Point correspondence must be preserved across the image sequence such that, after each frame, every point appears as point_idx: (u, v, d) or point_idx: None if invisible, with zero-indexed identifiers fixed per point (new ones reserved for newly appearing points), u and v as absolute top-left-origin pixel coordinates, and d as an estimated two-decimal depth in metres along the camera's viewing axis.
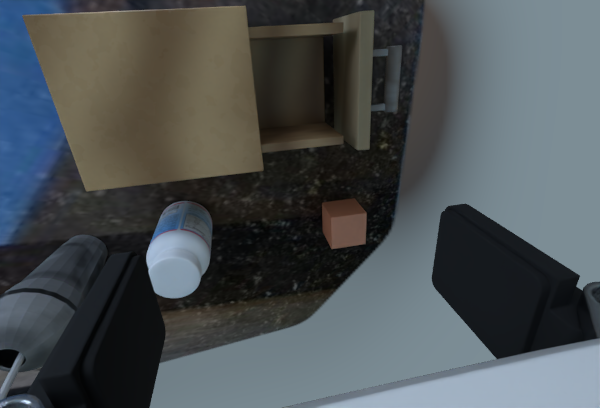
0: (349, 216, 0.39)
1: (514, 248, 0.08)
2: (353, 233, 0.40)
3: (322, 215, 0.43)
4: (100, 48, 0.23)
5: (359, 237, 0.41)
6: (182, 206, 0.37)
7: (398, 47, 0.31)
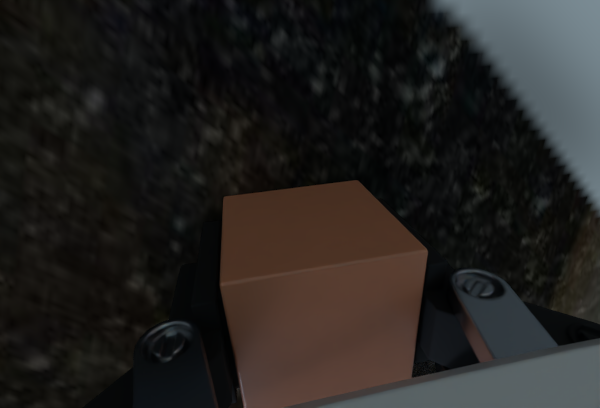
0: (244, 359, 0.07)
1: None
2: (345, 323, 0.07)
3: None
4: None
5: (379, 291, 0.07)
6: None
7: None
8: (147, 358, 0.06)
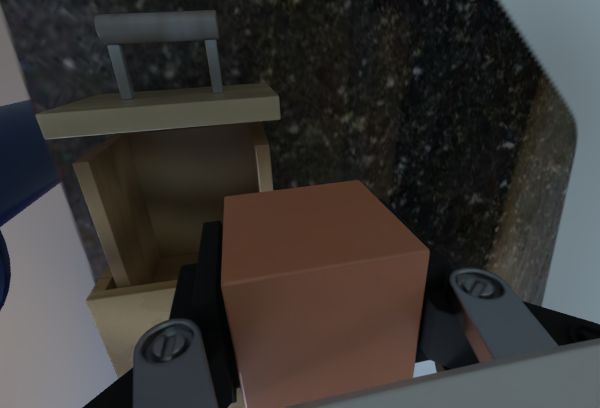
0: (245, 360, 0.07)
1: None
2: (347, 323, 0.07)
3: None
4: None
5: (381, 292, 0.07)
6: None
7: (97, 27, 0.17)
8: (147, 358, 0.06)
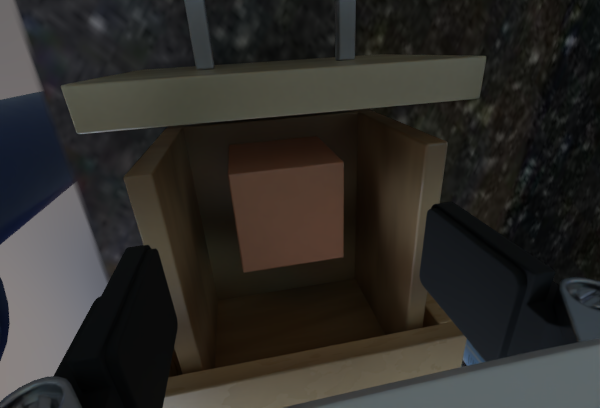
0: (241, 225, 0.13)
1: (494, 244, 0.08)
2: (299, 206, 0.13)
3: None
4: None
5: (317, 186, 0.13)
6: None
7: None
8: None
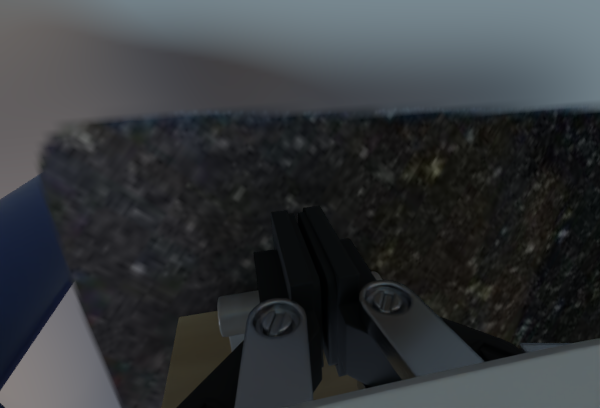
0: None
1: (324, 248, 0.08)
2: None
3: None
4: None
5: None
6: None
7: (223, 328, 0.11)
8: None
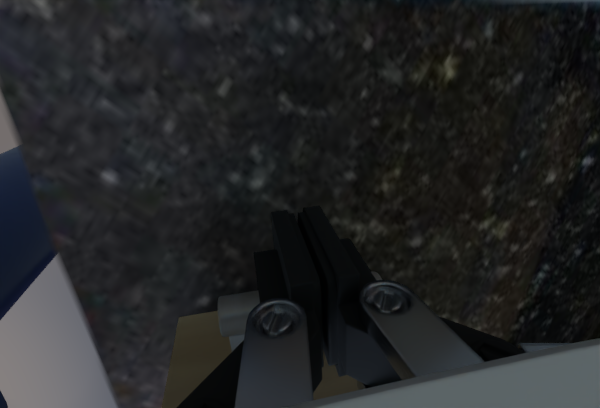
0: None
1: (324, 248, 0.08)
2: None
3: None
4: None
5: None
6: None
7: (223, 328, 0.11)
8: None
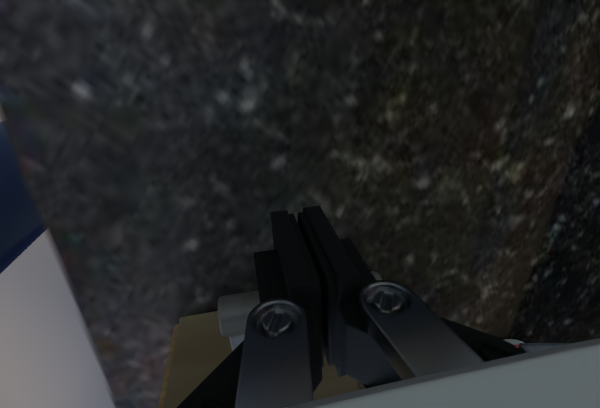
0: None
1: (324, 248, 0.08)
2: None
3: None
4: None
5: None
6: None
7: (224, 328, 0.11)
8: None
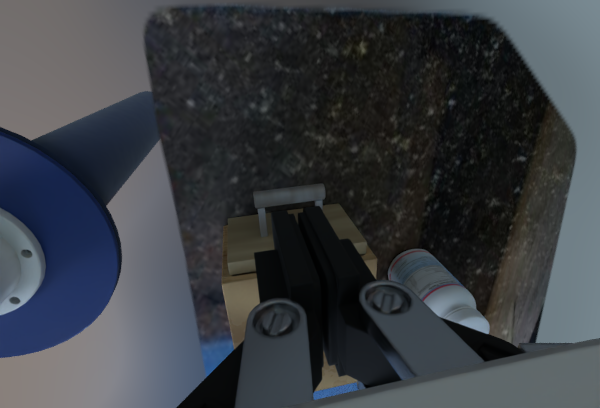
0: None
1: (324, 248, 0.08)
2: None
3: None
4: None
5: None
6: (394, 280, 0.38)
7: (256, 202, 0.27)
8: None
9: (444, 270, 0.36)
